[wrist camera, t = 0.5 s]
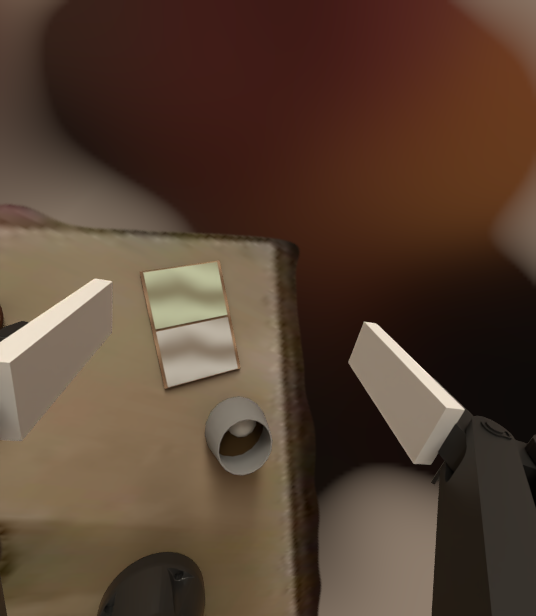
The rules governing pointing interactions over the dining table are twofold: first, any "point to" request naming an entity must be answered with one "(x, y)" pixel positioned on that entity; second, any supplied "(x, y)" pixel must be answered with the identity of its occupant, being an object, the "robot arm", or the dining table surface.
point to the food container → (1, 317)
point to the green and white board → (190, 322)
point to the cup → (239, 435)
